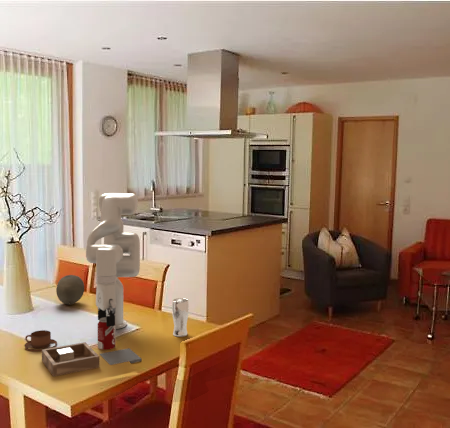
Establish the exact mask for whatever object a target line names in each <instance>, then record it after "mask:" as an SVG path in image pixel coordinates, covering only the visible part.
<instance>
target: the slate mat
mask: <svg viewBox="0 0 450 428" xmlns="http://www.w3.org/2000/svg"><path fill="white" fill-rule="evenodd" d="M99 356H100V357H102V358H103V360H104V361H105V362H106V363H108V365H110V366H114V365H117V364H122V363H126V362H129V363H130V364H135V363H139V362H140V363H141V362H142V357H140V356H139V355H138V354H137V353H135V352H134V351H133V350H132V349H131V348H129V347H128V348H122V349H118V350H112V351H108V352H102V353H99Z"/></svg>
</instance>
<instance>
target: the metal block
mask: <svg viewBox="0 0 450 428" xmlns="http://www.w3.org/2000/svg"><path fill="white" fill-rule="evenodd" d="M70 360H74V351H73V350H72V349H71V348H70V347H69V348H63V349H57V350H56V361H57V362H58V363H59V362H65V361H70Z"/></svg>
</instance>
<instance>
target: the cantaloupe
mask: <svg viewBox="0 0 450 428" xmlns="http://www.w3.org/2000/svg"><path fill="white" fill-rule="evenodd" d="M55 292H56V295H57V299H58V300H59V301H60V302H61V303H62V304H64V305H67V306H68V305H69V306H70V305H71V306H72V305H73V304H76V303H77V302H79V301H80V300H81V299H82V297H83V296H84V293H85V284H84V281H83V279H82V278H81V277H80V276H78V275H75V274H69V275H64V276H62V277H61V278H60V279H59V280H58V282H57V285H56V291H55Z"/></svg>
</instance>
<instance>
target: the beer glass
mask: <svg viewBox="0 0 450 428" xmlns="http://www.w3.org/2000/svg"><path fill="white" fill-rule="evenodd" d="M189 307H190V306H189V299H188V298H181V297H178V298H174V299H173V300H172V306H171V310H172V312H171V313H172V320H173V325H174V326H173V333H172V335H173V336H174V337H179V338H183V337H186V336H187V335H188V330H187V324H188V319H189V310H190V308H189Z"/></svg>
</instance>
